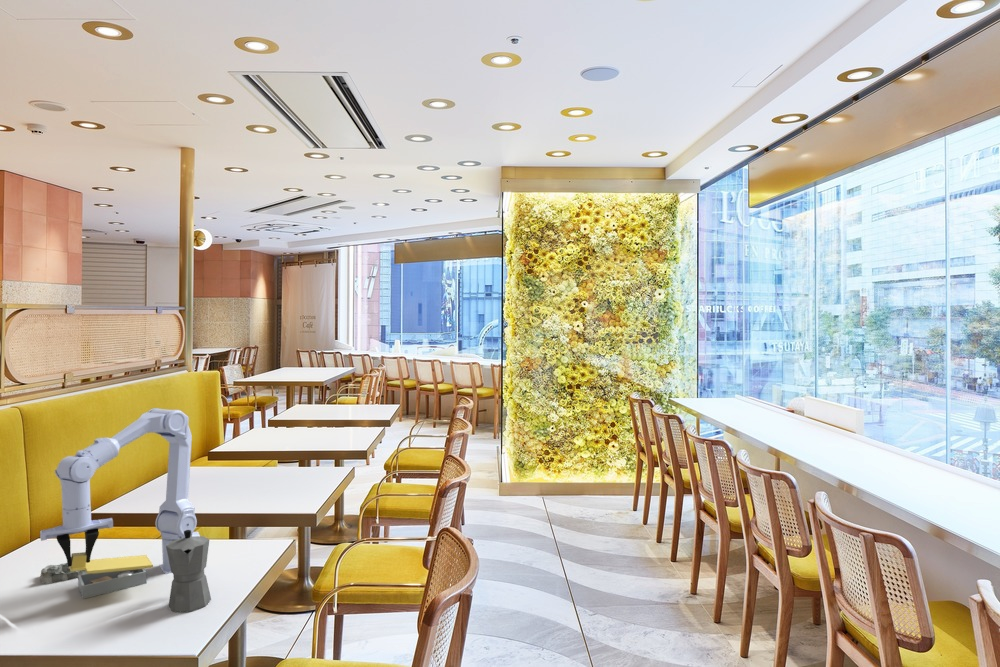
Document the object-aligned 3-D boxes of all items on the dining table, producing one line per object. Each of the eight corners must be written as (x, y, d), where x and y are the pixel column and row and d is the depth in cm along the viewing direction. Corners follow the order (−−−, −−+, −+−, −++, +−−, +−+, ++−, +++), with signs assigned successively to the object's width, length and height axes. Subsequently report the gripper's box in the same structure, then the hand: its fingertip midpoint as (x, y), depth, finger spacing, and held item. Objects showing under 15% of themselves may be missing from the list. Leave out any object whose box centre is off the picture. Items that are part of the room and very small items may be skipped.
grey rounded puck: (132, 578, 174) (132, 569, 174) (135, 582, 171) (134, 573, 171) (116, 581, 172) (116, 573, 172) (119, 586, 169) (118, 577, 169)
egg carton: (39, 588, 170) (38, 573, 170) (41, 578, 177) (40, 563, 177) (88, 579, 176) (87, 564, 176) (88, 569, 182) (88, 555, 182)
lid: (145, 559, 171) (147, 544, 171) (152, 569, 164) (154, 553, 164) (67, 566, 161) (69, 549, 161) (71, 577, 154) (73, 560, 154)
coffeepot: (212, 611, 155) (209, 535, 154) (167, 620, 151) (164, 541, 150) (210, 587, 169) (208, 517, 168) (169, 594, 165) (166, 522, 164)
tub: (139, 574, 178) (139, 561, 178) (146, 585, 171) (146, 571, 170) (78, 588, 169) (77, 575, 169) (82, 600, 162) (82, 586, 162)
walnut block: (107, 584, 170) (107, 575, 170) (112, 587, 169) (112, 578, 168) (90, 589, 167) (90, 581, 167) (95, 592, 165) (95, 583, 165)
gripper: (109, 497, 166) (111, 551, 166) (38, 508, 157) (40, 565, 157) (113, 503, 160) (115, 559, 160) (40, 515, 151) (42, 574, 152)
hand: (78, 563), depth 158 cm, fingers closed on lid, 3 cm apart
